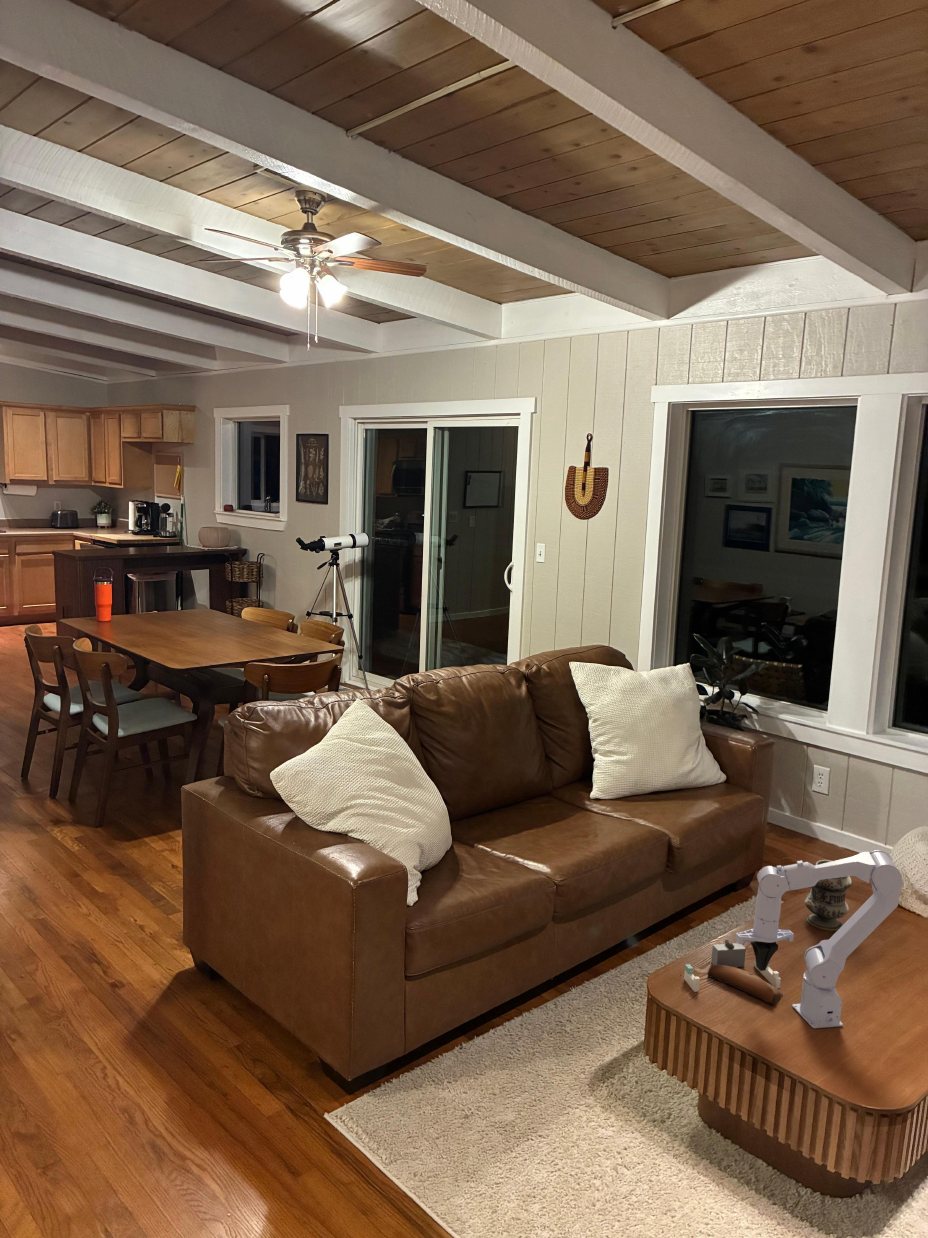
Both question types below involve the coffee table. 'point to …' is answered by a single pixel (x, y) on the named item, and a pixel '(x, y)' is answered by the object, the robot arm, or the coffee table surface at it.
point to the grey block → (728, 954)
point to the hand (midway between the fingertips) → (760, 968)
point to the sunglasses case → (746, 982)
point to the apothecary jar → (828, 902)
